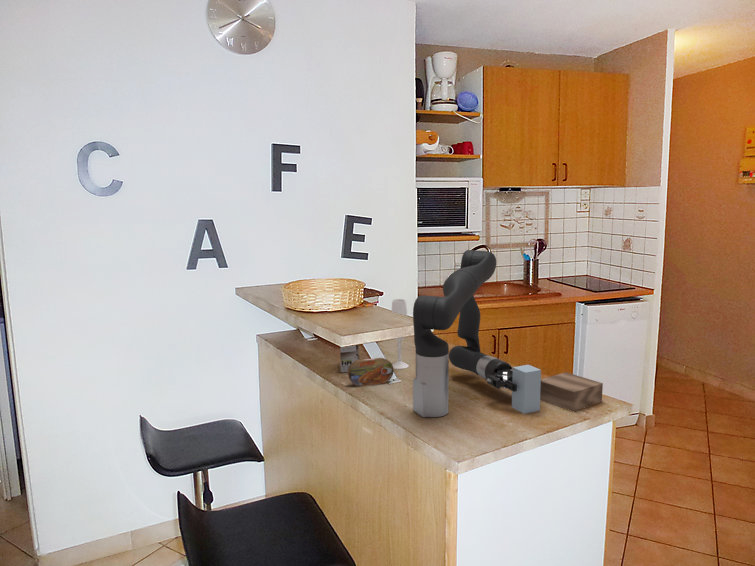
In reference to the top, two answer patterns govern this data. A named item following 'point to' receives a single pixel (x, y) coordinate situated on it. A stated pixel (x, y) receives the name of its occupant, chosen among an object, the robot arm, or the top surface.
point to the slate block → (526, 389)
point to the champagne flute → (400, 308)
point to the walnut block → (570, 391)
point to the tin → (370, 371)
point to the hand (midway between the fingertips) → (528, 386)
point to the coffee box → (348, 356)
